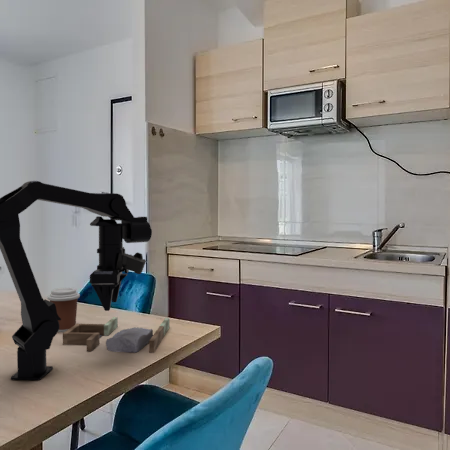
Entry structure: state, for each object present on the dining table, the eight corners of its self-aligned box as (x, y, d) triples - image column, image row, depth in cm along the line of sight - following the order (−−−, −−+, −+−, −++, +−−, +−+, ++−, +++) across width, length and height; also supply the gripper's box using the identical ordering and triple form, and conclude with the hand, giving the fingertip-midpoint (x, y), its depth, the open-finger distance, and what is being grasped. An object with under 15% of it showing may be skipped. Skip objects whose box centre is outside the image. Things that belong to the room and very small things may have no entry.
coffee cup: (86, 326, 127) (86, 288, 127) (65, 334, 118) (65, 293, 118) (62, 323, 130) (62, 286, 130) (41, 331, 122) (40, 291, 121)
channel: (153, 352, 104) (153, 340, 104) (54, 350, 105) (54, 339, 105) (169, 327, 126) (169, 317, 126) (87, 326, 127) (87, 316, 127)
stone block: (103, 358, 105) (139, 353, 103) (100, 339, 105) (135, 334, 103) (124, 345, 117) (156, 340, 115) (121, 328, 117) (153, 323, 115)
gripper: (138, 247, 93) (139, 315, 94) (147, 241, 112) (147, 297, 112) (88, 247, 92) (89, 316, 93) (105, 241, 111) (106, 298, 111)
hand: (111, 306), depth 102 cm, fingers open, 9 cm apart
